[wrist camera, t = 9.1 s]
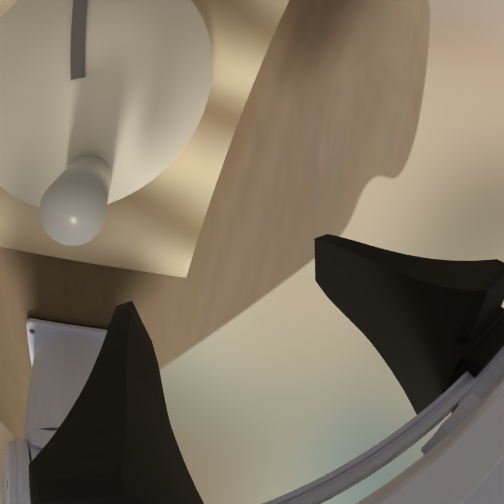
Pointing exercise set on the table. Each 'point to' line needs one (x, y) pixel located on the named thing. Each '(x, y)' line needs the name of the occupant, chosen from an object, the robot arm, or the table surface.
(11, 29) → the tuning knob
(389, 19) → the table surface
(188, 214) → the dial board
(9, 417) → the table surface
